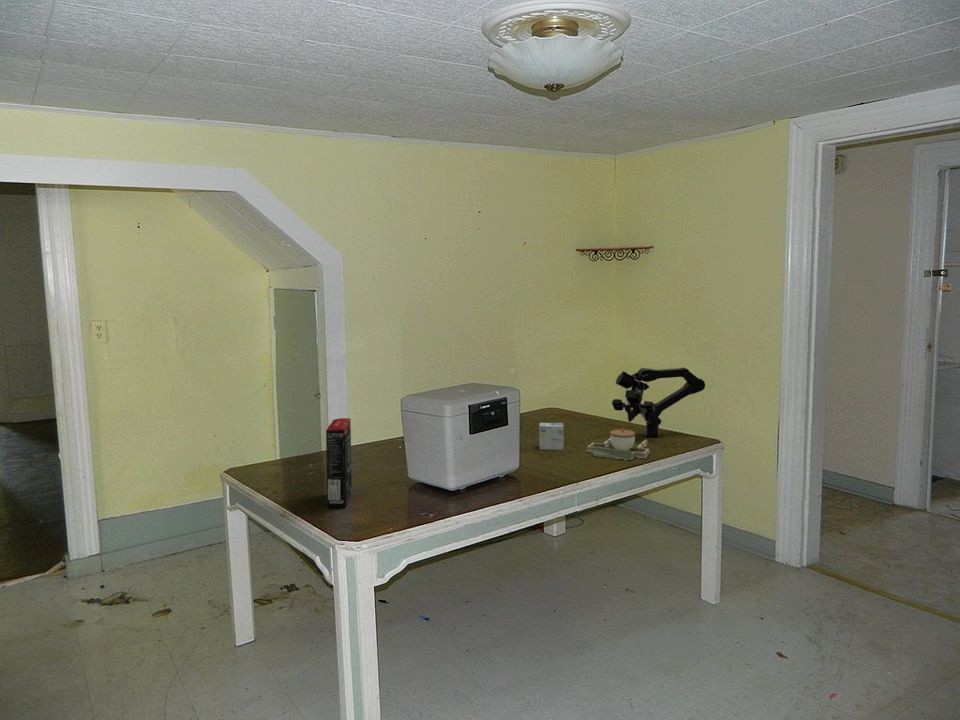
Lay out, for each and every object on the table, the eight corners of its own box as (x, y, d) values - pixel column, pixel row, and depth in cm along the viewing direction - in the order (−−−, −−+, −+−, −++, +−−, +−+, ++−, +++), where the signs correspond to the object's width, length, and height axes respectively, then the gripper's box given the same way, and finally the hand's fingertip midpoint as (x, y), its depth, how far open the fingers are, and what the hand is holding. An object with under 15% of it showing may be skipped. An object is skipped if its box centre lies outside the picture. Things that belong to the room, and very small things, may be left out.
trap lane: (602, 440, 324) (602, 431, 323) (657, 446, 313) (657, 437, 312) (583, 455, 299) (583, 446, 299) (641, 462, 288) (642, 452, 288)
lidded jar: (634, 447, 312) (634, 426, 311) (635, 453, 302) (635, 431, 300) (609, 446, 314) (610, 425, 313) (609, 452, 304) (610, 431, 302)
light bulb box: (563, 446, 315) (563, 422, 313) (563, 450, 308) (564, 425, 307) (539, 445, 316) (539, 422, 314) (539, 449, 309) (539, 425, 308)
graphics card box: (334, 492, 253) (331, 418, 250) (353, 492, 254) (351, 417, 250) (327, 509, 236) (324, 429, 233) (348, 508, 237) (345, 428, 233)
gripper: (613, 381, 325) (605, 410, 317) (653, 384, 316) (646, 413, 308) (618, 395, 333) (611, 423, 325) (658, 398, 324) (651, 426, 316)
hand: (629, 421), depth 319 cm, fingers closed
